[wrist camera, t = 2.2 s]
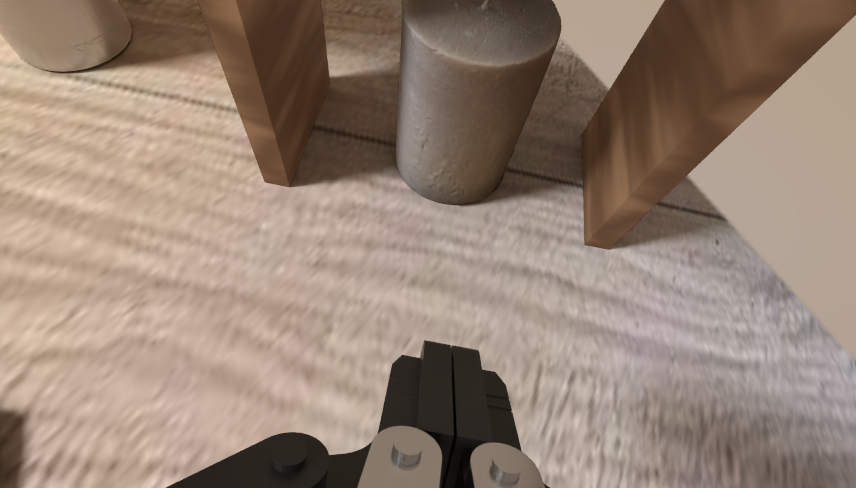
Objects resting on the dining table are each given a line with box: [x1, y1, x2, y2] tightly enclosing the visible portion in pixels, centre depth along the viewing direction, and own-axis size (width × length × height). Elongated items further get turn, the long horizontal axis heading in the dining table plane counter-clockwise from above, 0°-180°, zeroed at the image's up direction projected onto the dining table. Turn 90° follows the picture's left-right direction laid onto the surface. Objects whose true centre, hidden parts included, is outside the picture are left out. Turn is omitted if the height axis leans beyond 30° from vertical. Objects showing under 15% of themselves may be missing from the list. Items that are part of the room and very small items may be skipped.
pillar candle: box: [395, 0, 561, 204], centre depth 31 cm, size 10×10×15 cm
